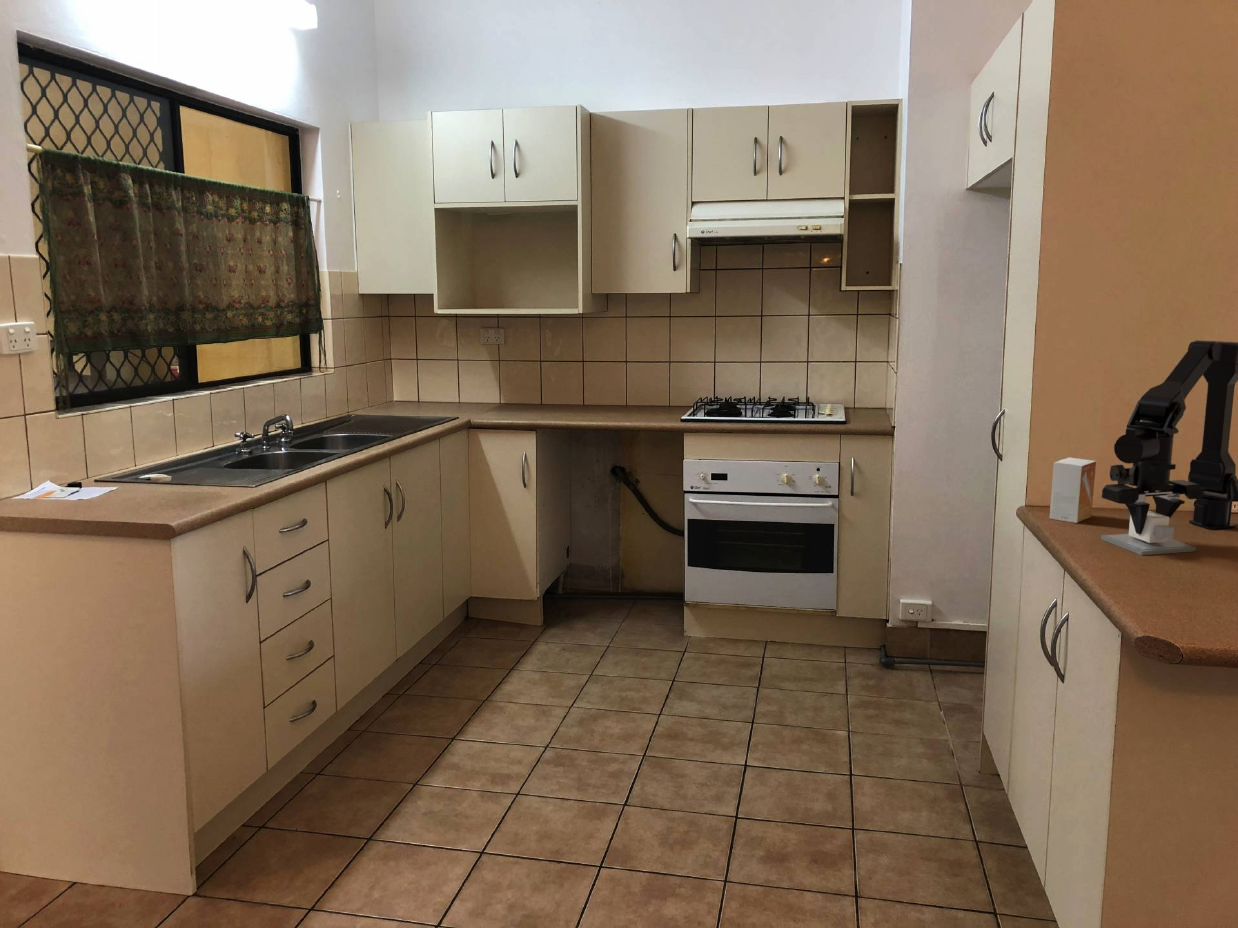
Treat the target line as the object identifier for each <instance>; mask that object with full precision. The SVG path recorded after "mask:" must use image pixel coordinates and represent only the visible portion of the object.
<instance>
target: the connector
mask: <svg viewBox="0 0 1238 928" xmlns="http://www.w3.org/2000/svg"><path fill="white" fill-rule="evenodd" d="M1155 512H1156V511H1155ZM1155 512H1154V511H1151V510H1148V513H1147V517H1146V521H1145V525H1144V528H1143V531H1142V534H1137V533H1136V531H1135V528H1134V524H1133V521H1132V518H1131V515H1130V514H1129V526H1128V534H1129V535H1130V536H1133V537H1135V538H1138V539H1141V540H1143V541H1146V542H1149V543H1153V542H1166V541H1167V538H1171V539H1174V534H1175V527H1173V526H1171V525H1169V523H1170V519H1169V517H1167V516H1164V515H1161V514H1158V513H1155Z"/></svg>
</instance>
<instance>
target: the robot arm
mask: <svg viewBox="0 0 1238 928" xmlns="http://www.w3.org/2000/svg"><path fill="white" fill-rule="evenodd" d="M1202 377H1203V378H1204V380H1205V382H1206V383H1207V390H1206V403H1205V410H1204V411H1205V412H1204V421H1203V422H1204V423H1203V433H1202V444H1201V445H1202V446H1201V451H1200V453H1198V455H1197V456H1196V457H1195V458H1193V459H1191V461H1190V462H1189V471H1188V475H1187V480H1185V479H1175V480H1174V479H1173V480H1170V478H1171V471H1173V470H1176V466H1177V463H1176V464H1175V463H1172V460H1173V459H1172V456H1173V449H1174V447H1173V446H1174V437H1175V434H1178V433H1179V429H1178V428H1177V425H1178V423H1179V422H1180V421H1181V419H1182V418H1183V416H1184V413H1185V411H1186V409H1187V407H1186V399H1187V397H1188V395H1189V394H1190V392H1192V389H1194V388H1195V386H1196V385H1197V383H1198V382H1199V380H1200V379H1201V378H1202ZM1237 382H1238V341H1221V340H1218V341H1217V340H1200V339H1199V340H1194V341H1193V340H1192V341H1191V342H1190V343H1189V345H1188V348H1187V351H1186V352H1185V354H1183V356H1182V358H1181V359H1180V360H1179V361H1178V363H1177V364H1176V365H1175V366H1174V368H1173V369H1172V371H1171V372H1170V373H1169V375H1168V376H1167V377H1166V378H1165V380H1164V381H1163V382H1162V383H1160V384H1158V385H1155V386H1153V387H1150V388H1149V389H1148V390H1147V391H1146V392H1145V393H1144V394H1143V395H1142V396H1141V397H1140V399H1138V401H1137V402H1136V405H1135V407H1134V409H1133V412H1132V413H1131V415H1130V418H1129V420H1128V422H1127V424H1126V428H1125V434H1123V435H1121V436H1119V437H1118V438H1117V439H1116V441H1115V443H1114V445H1113V451H1114V454H1115V456H1116V458H1117V459H1118V460H1119V461H1120V462H1122V463H1124V464H1129V465H1130V464H1132V467H1126V468H1125V466H1124V465H1123V464H1115V465H1113V464H1112V465H1110V469H1109V479H1110V480H1111V482H1117V483H1115V484H1114V483H1113V484H1106V485H1105V486H1103V488H1102V490H1101V491H1102V492H1101V499H1104V500H1108V501H1110V502H1114V503H1116V504H1118V505H1119V504H1121V505H1125V506H1126V508H1127V510H1128V512H1129V516H1130V515H1131V518H1132V521H1133V524H1134V528H1135V531H1136V533H1137V534H1142V531H1143V528H1144V525H1145V521H1146V517H1147V513H1148V510H1149V509H1150V503H1149V502H1146V497H1152V500H1154V504H1155V513H1158V514H1161V515H1164V516H1167V517H1169V520H1170V519H1171V518H1172V516H1173V515H1174V514H1175V513H1176V511H1177V510H1178V509H1179V508H1180V507H1181V505H1184V504H1185V503H1186V501H1185V500H1183V499H1181V495H1184V496H1185V497H1186V499H1188V500H1196V502H1195V503H1194V507H1193V517H1192V519H1188V522H1189V523H1190V524H1194V525H1197V526H1200V527H1203V528H1205V529H1209V530H1217V529H1231V528H1236V526H1237V525H1236V524H1233V523H1232V522H1231V517H1232V508H1233V502H1235V503H1238V477H1237V474H1236V468H1237V467H1236V463H1235V461H1234V460H1233V457H1232V456H1231V454H1230V453H1229V448H1230V447H1229V446H1230V445H1229V444H1230V435H1231V427H1232V426H1231V425H1232V418H1233V417H1232V416H1233V406H1234V397H1235V386H1236V383H1237ZM1149 511H1150V510H1149Z"/></svg>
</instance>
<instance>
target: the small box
mask: <svg viewBox="0 0 1238 928" xmlns="http://www.w3.org/2000/svg"><path fill="white" fill-rule="evenodd" d="M1096 467H1097V460H1091V459H1084V458H1077V457H1076V458H1075V457H1070V456H1068V457H1066V458H1064V459H1060V460H1057V461H1054V462H1053V468H1052V469H1053V471H1052V483H1051V484H1052V485H1051V495H1050V496H1051V497H1050V508H1049V510H1050V511H1049V519H1051V520H1055V521H1062V522H1067V523H1074V524H1078V523H1080V522H1082V521H1084V520H1086V519H1089V518H1091V517H1092V513H1093V512H1092V511H1093V501H1094V500H1093V499H1094V488H1095V478H1096Z"/></svg>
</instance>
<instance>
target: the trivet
mask: <svg viewBox="0 0 1238 928" xmlns="http://www.w3.org/2000/svg"><path fill="white" fill-rule="evenodd" d="M1100 539H1101V540H1102V541H1105V542H1106V543H1109V544H1112V545H1115V546H1117V547H1120V548H1122V549H1124V550H1126V551H1130V552H1132V553H1135V554H1137V555H1139V556H1150V555H1164V554H1175V553H1176V554H1177V553H1189V552H1190V553H1192V552H1196V547H1195V546H1192V545H1190V544H1187V543H1184V542H1182V541H1179V540H1176V539H1174V538H1167V541H1166V542H1153V543H1149V542H1146V541H1143V540H1141V539H1138V538H1135V537H1133V536H1130V535H1129V533H1119V534H1118V533H1117V534H1105V535H1104V534H1103V535H1100Z"/></svg>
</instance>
